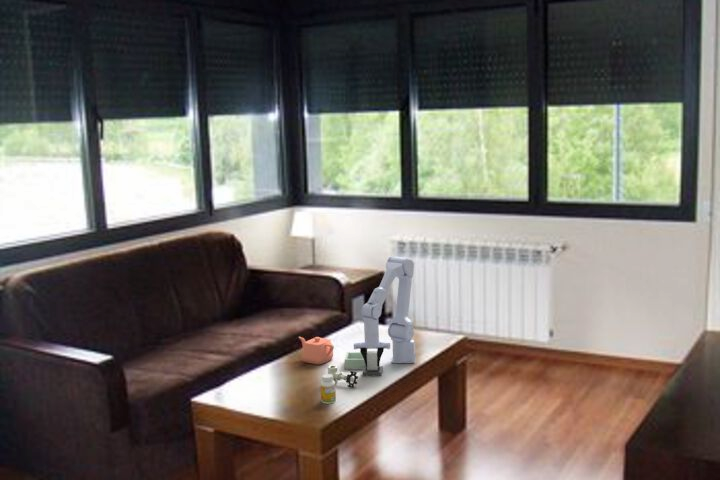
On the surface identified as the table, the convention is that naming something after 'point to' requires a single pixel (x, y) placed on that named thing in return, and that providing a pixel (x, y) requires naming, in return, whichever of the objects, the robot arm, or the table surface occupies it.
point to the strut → (372, 361)
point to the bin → (354, 360)
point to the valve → (343, 376)
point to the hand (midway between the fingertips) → (372, 365)
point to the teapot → (317, 350)
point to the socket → (372, 372)
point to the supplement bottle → (328, 389)
